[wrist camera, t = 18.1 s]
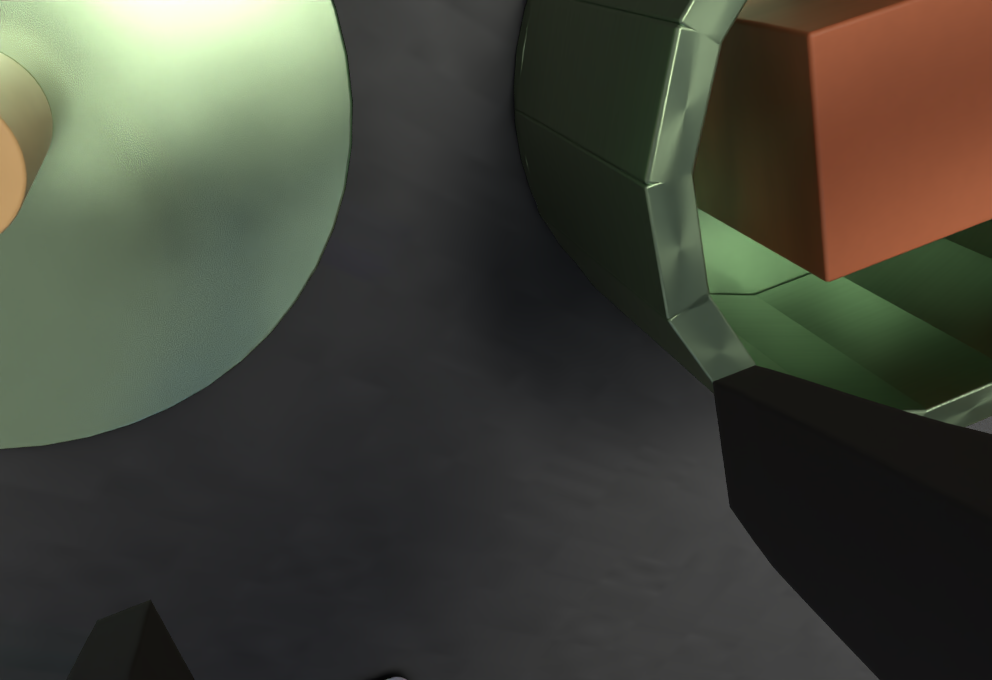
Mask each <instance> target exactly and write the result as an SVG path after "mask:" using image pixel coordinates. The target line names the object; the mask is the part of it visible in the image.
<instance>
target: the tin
mask: <svg viewBox="0 0 992 680" xmlns="http://www.w3.org/2000/svg"><path fill="white" fill-rule="evenodd" d="M746 2H747V0H528V1H527V4H526V7H525V11H524V16H523V21H522V26H521V30H520V35H519V40H518V45H517V53H516V65H515V77H514V107H515V126H516V132H517V138H518V144H519V150H520V156H521V161H522V164H523V167H524V170H525V174H526V177H527V180H528V184H529V187H530V190H531V193H532V195H533V197H534V199H535V201H536V203H537V207H538V212H539V213H540V216H541V217H542V219H543V220H544V221H545V223H546V224H547V225H548V227H549V228H550V230H551V231H552V233H553V235H554V236H555V238H556V239H557V241H558V242H559V244H560V245H561V247H562V248H563V249H564V250H565V251H566V252H567V253H568V255H569V256H570V257H571V258H572V259H573V260H574V261H575V263H576V264H577V265H578V266H579V268H580V269H581V270H582V271H583V273H584V274H585V275H586V277H587V278H588V279H589V281H590V282H591V283H592V285H593V286H594V287H595V288H596V289H597V290H598V291H600V292H601V293H602V294H603V295H604V296H605V297H606V298H607V299H609V300H610V301H611V302H612V303H613V304H614V305H615V306H616V307H617V308H619V309H620V310H621V311H622V312H623V313H624V314H625V315H626V316H628V317H629V318H630V319H631V320H632V321H633V322H634V323H635V324H637V325H638V326H639V327H640V328H641V329H642V330H643V331H644V332H645V333H647V334H648V335H649V336H650V337H651V338H652V339H653V340H654V341H656V342H657V343H658V344H659V345H660V346H661V347H662V348H663V349H664V350H666V351H667V352H668V353H669V354H670V355H671V356H672V357H673V358H675V359H676V360H677V361H678V362H679V363H680V364H681V365H682V366H683V367H685V368H686V369H687V370H688V371H689V372H690V373H691V374H692V375H694V376H695V377H696V378H697V379H698V380H699V381H700V382H701V383H702V384H704V385H705V386H706V387H707V388H708V389H709V390H710V391H711V392H713V393H714V389H713V381H716V380H718V379H721V378H723V377H726V376H729V375H731V374H734V373H736V372H739V371H741V370H744V369H747V368H749V367H752V366H754V365H756V366H760V367H764V368H768V369H772V370H775V371H779V372H782V373H785V374H789V375H792V376H795V377H798V378H801V379H805V380H808V381H811V382H814V383H817V384H820V385H823V386H827V387H830V388H833V389H836V390H839V391H842V392H845V393H848V394H851V395H855V396H858V397H861V398H864V399H867V400H871V401H874V402H877V403H880V404H883V405H887V406H890V407H893V408H897V409H900V410H903V411H907V412H910V413H913V414H917V415H920V416H924V417H927V418H931V419H935V420H938V421H942V422H945V423H949V424H953V425H957V426H961V427H967V426H969V425H972V424H974V423H976V422H979V421H981V420H983V419H986V418H988V417H990V416H992V219H991V220H988V221H986V222H983V223H980V224H978V225H975V226H973V227H970V228H967V229H965V230H962V231H960V232H957V233H955V234H952V235H949V236H947V237H944V238H942V239H939V240H936V241H934V242H931V243H929V244H926V245H924V246H921V247H918V248H916V249H913V250H911V251H908V252H906V253H903V254H900V255H898V256H895V257H893V258H890V259H887V260H885V261H882V262H880V263H877V264H875V265H872V266H869V267H867V268H864V269H862V270H859V271H856V272H854V273H851V274H849V275H846V276H844V277H841V278H838V279H836V280H833V281H831V282H825V281H824V280H822V279H820V278H818V277H817V276H815V275H813V274H811V273H810V272H808V271H806V270H804V269H803V268H801V267H799V266H797V265H796V264H794V263H792V262H790V261H789V260H787V259H785V258H783V257H782V256H780V255H778V254H776V253H775V252H773V251H771V250H769V249H768V248H766V247H764V246H763V245H761V244H759V243H757V242H756V241H754V240H752V239H750V238H749V237H747V236H745V235H743V234H742V233H740V232H738V231H736V230H735V229H733V228H731V227H729V226H728V225H726V224H724V223H722V222H721V221H719V220H717V219H715V218H714V217H712V216H710V215H708V214H707V213H705V212H703V211H701V210H700V209H698V208H697V204H696V197H695V190H694V183H693V173H694V168H695V164H696V159H697V155H698V150H699V146H700V141H701V136H702V132H703V127H704V123H705V118H706V114H707V109H708V105H709V100H710V96H711V91H712V87H713V82H714V78H715V73H716V69H717V64H718V60H719V55H720V51H721V46H722V42H723V41H724V39H725V37H726V35H727V34H728V32H729V30H730V29H731V27H732V25H733V24H734V22H735V20H736V19H737V17H738V15H739V14H740V12H741V10H742V9H743V7H744V5H745V3H746Z"/></svg>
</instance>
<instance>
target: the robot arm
mask: <svg viewBox="0 0 992 680" xmlns="http://www.w3.org/2000/svg"><path fill="white" fill-rule="evenodd" d="M713 389H714V396H715V403H716V411H717V418H718V425H719V432H720V439H721V447H722V454H723V461H724V468H725V475H726V483H727V490H728V497H729V504H730V508H731V509H732V511H733V512H734V513H735V515H736V516H737V518H738V519H739V521H740V522H741V523H742V525H743V526H744V528H745V529H746V531H747V532H748V533H749V535H750V536H751V538H752V539H753V540H754V542H755V543H756V544H757V546H758V547H759V549H760V550H761V551H762V553H763V554H764V555H765V557H766V558H767V559H768V561H769V562H770V563H771V565H772V566H773V567H774V568H775V570H776V571H777V572H778V573H779V574H780V575H781V576H782V577H783V578H784V579H785V580H786V582H787V583H788V584H789V585H790V586H791V587H792V588H793V589H794V590H795V591H796V592H797V593H798V594H799V595H800V596H801V598H802V599H803V600H804V601H805V602H806V603H807V604H808V605H809V606H810V607H811V608H812V609H813V610H814V611H815V612H816V613H817V615H818V616H819V617H820V618H821V619H822V620H823V621H824V622H825V623H826V624H827V625H828V626H829V627H830V628H831V629H832V630H833V631H834V632H835V633H836V634H837V635H838V636H839V638H840V639H841V640H842V641H843V642H844V643H845V644H846V645H847V646H848V647H849V648H850V649H851V650H852V651H853V652H854V653H855V654H856V655H857V656H858V657H859V658H860V660H861V661H862V662H863V663H864V664H865V665H866V666H867V667H868V668H869V669H870V670H871V671H872V672H873V673H874V674H875V675H876V676H877V677H878V678H879V679H880V680H992V434H989V433H985V432H981V431H977V430H973V429H969V428H965V427H961V426H957V425H953V424H949V423H945V422H942V421H938V420H935V419H931V418H927V417H924V416H920V415H917V414H913V413H910V412H907V411H903V410H900V409H897V408H893V407H890V406H887V405H883V404H880V403H877V402H874V401H871V400H867V399H864V398H861V397H858V396H855V395H851V394H848V393H845V392H842V391H839V390H836V389H833V388H830V387H827V386H823V385H820V384H817V383H814V382H811V381H808V380H805V379H801V378H798V377H795V376H792V375H789V374H785V373H782V372H779V371H775V370H772V369H768V368H764V367H760V366H756V365H754V366H752V367H749V368H747V369H744V370H741V371H739V372H736V373H734V374H731V375H729V376H726V377H723V378H721V379H718V380H716V381H713ZM67 680H194V678H193V676H192V674H191V673H190V671H189V669H188V667H187V665H186V663H185V662H184V660H183V658H182V656H181V654H180V652H179V651H178V649H177V647H176V645H175V643H174V642H173V640H172V638H171V636H170V634H169V632H168V631H167V629H166V627H165V625H164V623H163V621H162V620H161V618H160V616H159V614H158V612H157V611H156V609H155V607H154V605H153V603H152V601H151V600H149V601H147V602H144V603H141V604H139V605H136V606H134V607H131V608H128V609H126V610H123V611H121V612H118V613H116V614H113V615H110V616H108V617H105V618H103V619H100V620H98V621H97V622H96V624H95V626H94V628H93V630H92V632H91V634H90V636H89V637H88V639H87V641H86V643H85V645H84V647H83V649H82V651H81V653H80V654H79V656H78V658H77V660H76V662H75V664H74V666H73V668H72V670H71V672H70V674H69V676H68V678H67ZM386 680H407V679H404V678H402V677H392V678H389V679H386Z"/></svg>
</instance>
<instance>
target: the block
mask: <svg viewBox="0 0 992 680" xmlns="http://www.w3.org/2000/svg"><path fill="white" fill-rule="evenodd" d="M693 183H694V190H695V197H696V204H697V208H698V209H700V210H701V211H703V212H705V213H707V214H708V215H710V216H712V217H714V218H715V219H717V220H719V221H721V222H722V223H724V224H726V225H728V226H729V227H731V228H733V229H735V230H736V231H738V232H740V233H742V234H743V235H745V236H747V237H749V238H750V239H752V240H754V241H756V242H757V243H759V244H761V245H763V246H764V247H766V248H768V249H769V250H771V251H773V252H775V253H776V254H778V255H780V256H782V257H783V258H785V259H787V260H789V261H790V262H792V263H794V264H796V265H797V266H799V267H801V268H803V269H804V270H806V271H808V272H810V273H811V274H813V275H815V276H817V277H818V278H820V279H822V280H824V281H825V282H831V281H833V280H836V279H838V278H841V277H844V276H846V275H849V274H851V273H854V272H856V271H859V270H862V269H864V268H867V267H869V266H872V265H875V264H877V263H880V262H882V261H885V260H887V259H890V258H893V257H895V256H898V255H900V254H903V253H906V252H908V251H911V250H913V249H916V248H918V247H921V246H924V245H926V244H929V243H931V242H934V241H936V240H939V239H942V238H944V237H947V236H949V235H952V234H955V233H957V232H960V231H962V230H965V229H967V228H970V227H973V226H975V225H978V224H980V223H983V222H986V221H988V220H991V219H992V0H747V2H746V3H745V5H744V7H743V9H742V10H741V12H740V14H739V15H738V17H737V19H736V20H735V22H734V24H733V25H732V27H731V29H730V30H729V32H728V34H727V35H726V37H725V39H724V41H723V42H722V46H721V51H720V55H719V60H718V64H717V69H716V73H715V78H714V82H713V87H712V91H711V96H710V100H709V105H708V109H707V114H706V118H705V123H704V127H703V132H702V136H701V141H700V146H699V150H698V155H697V159H696V164H695V168H694V173H693Z"/></svg>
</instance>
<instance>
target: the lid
mask: <svg viewBox="0 0 992 680" xmlns="http://www.w3.org/2000/svg"><path fill="white" fill-rule="evenodd" d="M352 115H353V99H352V90H351V81H350V73H349V64H348V55H347V51H346V47H345V43H344V38H343V34H342V30H341V26H340V22H339V18H338V14H337V10H336V6H335V4H334V1H333V0H0V449H10V448H23V447H35V446H45V445H51V444H56V443H61V442H67V441H72V440H77V439H83V438H88V437H92V436H95V435H98V434H102V433H105V432H108V431H112V430H115V429H118V428H121V427H125V426H128V425H131V424H134V423H136V422H139V421H141V420H143V419H145V418H148V417H150V416H152V415H155V414H157V413H159V412H162V411H164V410H166V409H169V408H171V407H173V406H175V405H176V404H178V403H180V402H182V401H183V400H185V399H187V398H189V397H190V396H192V395H194V394H196V393H197V392H199V391H201V390H202V389H204V388H206V387H208V386H209V385H211V384H212V383H213V382H215V381H216V380H217V379H219V378H220V377H221V376H223V375H224V374H225V373H227V372H228V371H229V370H231V369H232V368H233V367H235V366H236V365H237V364H239V363H240V362H241V361H242V360H243V359H244V358H245V357H247V356H248V355H249V354H250V353H251V352H252V351H253V350H254V349H255V348H256V347H257V346H258V345H259V344H260V343H261V342H262V341H263V340H264V339H265V338H266V337H267V336H268V335H269V334H270V333H271V332H272V331H273V330H274V329H275V327H276V326H277V325H278V324H279V322H280V321H281V320H282V319H283V317H284V316H285V315H286V314H287V312H288V311H289V310H290V309H291V307H292V306H293V305H294V304H295V302H296V301H297V300H298V298H299V296H300V295H301V293H302V291H303V290H304V288H305V286H306V285H307V283H308V281H309V280H310V278H311V276H312V275H313V273H314V271H315V270H316V268H317V266H318V264H319V262H320V260H321V257H322V255H323V253H324V251H325V248H326V246H327V244H328V241H329V239H330V237H331V235H332V232H333V230H334V227H335V224H336V220H337V217H338V213H339V210H340V206H341V203H342V199H343V196H344V192H345V189H346V183H347V176H348V169H349V163H350V156H351V149H352Z"/></svg>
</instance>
